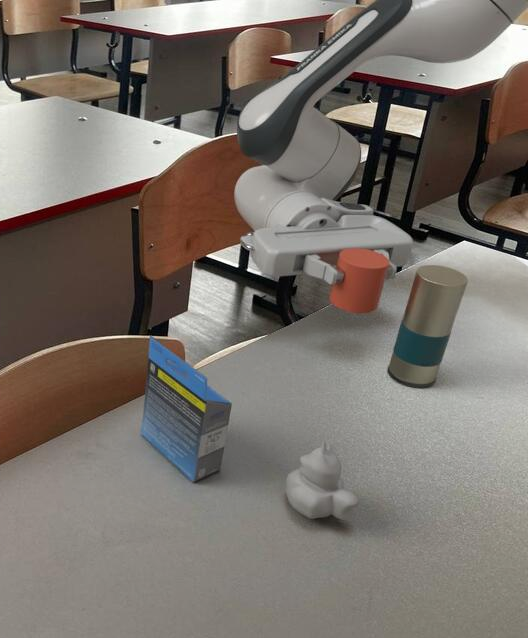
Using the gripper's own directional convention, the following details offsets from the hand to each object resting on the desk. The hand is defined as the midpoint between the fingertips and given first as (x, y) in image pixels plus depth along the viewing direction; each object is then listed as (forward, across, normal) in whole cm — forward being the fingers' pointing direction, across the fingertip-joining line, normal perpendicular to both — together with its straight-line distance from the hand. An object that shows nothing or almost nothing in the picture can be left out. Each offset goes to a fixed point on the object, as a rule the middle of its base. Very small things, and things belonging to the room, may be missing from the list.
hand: (365, 276), depth 90 cm
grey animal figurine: (+25, -18, +11) cm, 33 cm away
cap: (-1, 0, +4) cm, 4 cm away
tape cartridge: (+14, -28, +11) cm, 33 cm away
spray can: (+6, +5, +11) cm, 13 cm away
